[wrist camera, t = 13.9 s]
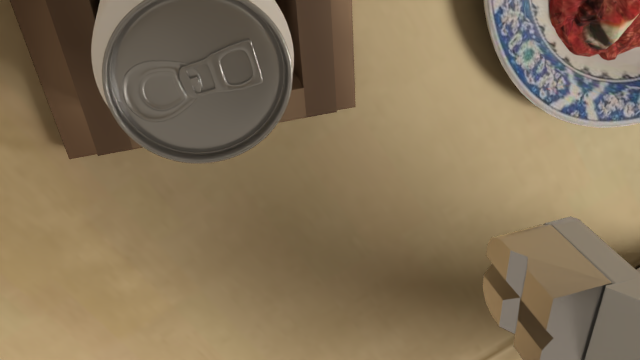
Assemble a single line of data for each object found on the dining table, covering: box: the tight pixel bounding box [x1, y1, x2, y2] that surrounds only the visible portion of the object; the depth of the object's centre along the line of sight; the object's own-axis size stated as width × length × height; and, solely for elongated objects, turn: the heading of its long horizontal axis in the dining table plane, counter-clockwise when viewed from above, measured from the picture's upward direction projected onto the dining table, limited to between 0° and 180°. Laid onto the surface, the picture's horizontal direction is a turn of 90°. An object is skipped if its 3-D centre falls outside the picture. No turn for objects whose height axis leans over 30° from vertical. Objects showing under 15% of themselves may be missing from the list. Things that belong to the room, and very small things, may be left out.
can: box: [91, 0, 294, 163], centre depth 21 cm, size 6×6×12 cm
